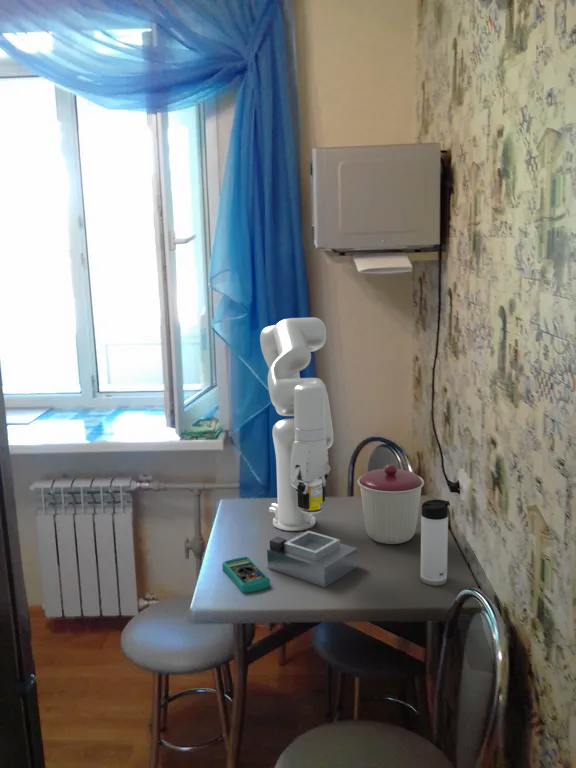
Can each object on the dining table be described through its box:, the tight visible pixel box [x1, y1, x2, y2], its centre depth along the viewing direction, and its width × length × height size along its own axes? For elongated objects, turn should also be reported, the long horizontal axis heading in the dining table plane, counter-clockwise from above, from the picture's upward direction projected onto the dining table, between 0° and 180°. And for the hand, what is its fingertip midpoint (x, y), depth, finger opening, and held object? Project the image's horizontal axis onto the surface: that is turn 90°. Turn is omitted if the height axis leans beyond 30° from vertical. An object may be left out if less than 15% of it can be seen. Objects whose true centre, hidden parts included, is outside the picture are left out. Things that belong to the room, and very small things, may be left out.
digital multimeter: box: [222, 556, 271, 594], centre depth 175 cm, size 7×15×3 cm, turn 25°
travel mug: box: [420, 499, 451, 586], centre depth 170 cm, size 6×7×20 cm
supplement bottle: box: [301, 477, 324, 515], centre depth 176 cm, size 6×6×10 cm
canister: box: [357, 463, 425, 545], centre depth 196 cm, size 18×18×21 cm
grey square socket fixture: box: [266, 530, 358, 589], centre depth 179 cm, size 18×14×7 cm
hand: (311, 503), depth 177 cm, fingers closed on supplement bottle, 5 cm apart
